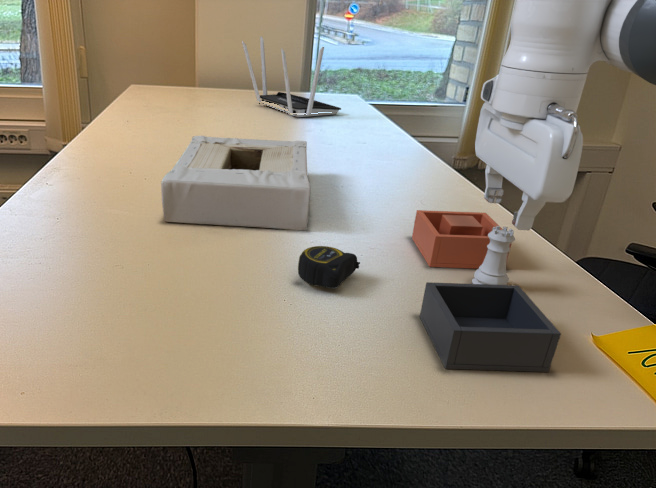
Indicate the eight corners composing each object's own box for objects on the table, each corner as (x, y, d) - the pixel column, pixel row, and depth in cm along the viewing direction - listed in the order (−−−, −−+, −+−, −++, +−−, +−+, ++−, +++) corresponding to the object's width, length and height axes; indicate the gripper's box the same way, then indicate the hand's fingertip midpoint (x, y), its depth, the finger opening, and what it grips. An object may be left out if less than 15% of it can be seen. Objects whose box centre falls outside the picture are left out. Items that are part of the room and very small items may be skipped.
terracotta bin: (479, 240, 91) (485, 212, 89) (504, 269, 81) (513, 239, 79) (411, 238, 91) (416, 210, 88) (429, 266, 81) (435, 236, 79)
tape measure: (335, 298, 72) (338, 270, 70) (287, 282, 75) (289, 256, 73) (358, 278, 77) (361, 252, 75) (312, 265, 80) (314, 240, 78)
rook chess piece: (512, 295, 74) (528, 237, 71) (477, 294, 74) (491, 235, 71) (499, 280, 78) (514, 224, 75) (466, 278, 78) (479, 222, 75)
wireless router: (352, 118, 174) (361, 46, 165) (288, 124, 164) (293, 47, 154) (291, 100, 200) (295, 36, 190) (231, 104, 189) (233, 36, 180)
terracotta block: (466, 244, 88) (472, 215, 86) (476, 256, 84) (483, 226, 82) (436, 243, 88) (442, 214, 85) (445, 255, 84) (451, 225, 82)
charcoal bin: (508, 320, 69) (518, 285, 66) (548, 372, 59) (561, 333, 57) (419, 317, 68) (426, 282, 66) (445, 369, 59) (454, 330, 57)
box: (191, 169, 120) (161, 223, 92) (191, 131, 117) (160, 175, 88) (303, 177, 120) (308, 233, 91) (307, 139, 116) (313, 185, 88)
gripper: (614, 115, 56) (571, 248, 62) (527, 84, 74) (500, 190, 81) (549, 112, 56) (512, 245, 62) (478, 82, 74) (455, 188, 80)
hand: (505, 214), depth 72 cm, fingers open, 8 cm apart
